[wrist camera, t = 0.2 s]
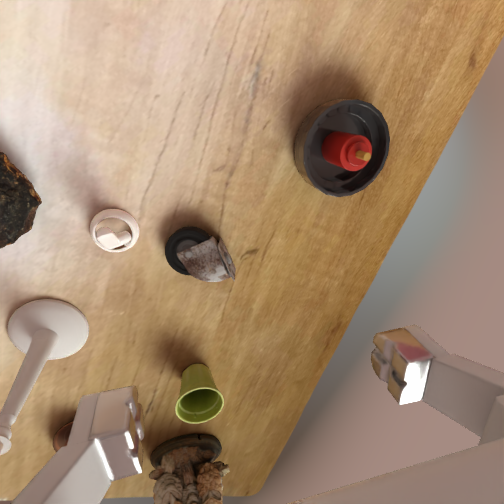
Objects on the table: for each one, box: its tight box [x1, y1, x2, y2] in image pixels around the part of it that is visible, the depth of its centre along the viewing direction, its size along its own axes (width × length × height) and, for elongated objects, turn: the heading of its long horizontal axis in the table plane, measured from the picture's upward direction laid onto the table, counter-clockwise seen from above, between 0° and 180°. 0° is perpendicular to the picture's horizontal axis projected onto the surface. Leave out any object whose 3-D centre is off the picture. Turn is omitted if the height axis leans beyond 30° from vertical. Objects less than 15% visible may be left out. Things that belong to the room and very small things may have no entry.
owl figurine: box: [149, 434, 230, 504], centre depth 75 cm, size 18×12×17 cm, turn 90°
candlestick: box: [0, 299, 89, 455], centre depth 47 cm, size 13×13×30 cm
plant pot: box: [175, 364, 224, 424], centre depth 69 cm, size 9×9×9 cm
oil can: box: [322, 131, 372, 171], centre depth 54 cm, size 5×5×10 cm
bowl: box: [295, 99, 390, 197], centre depth 57 cm, size 15×15×5 cm
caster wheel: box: [165, 227, 236, 282], centre depth 58 cm, size 7×11×10 cm
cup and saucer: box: [53, 421, 74, 452], centre depth 70 cm, size 12×12×6 cm
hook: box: [90, 209, 139, 252], centre depth 52 cm, size 8×12×7 cm
